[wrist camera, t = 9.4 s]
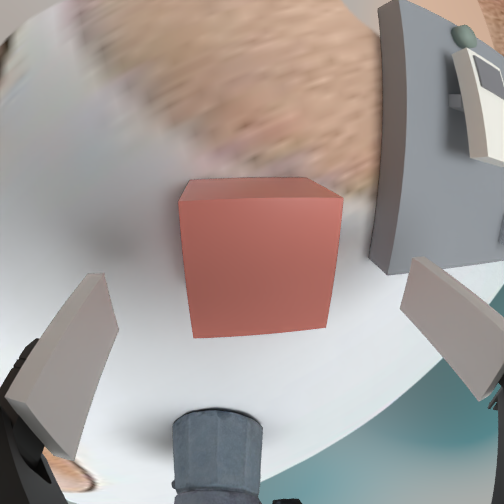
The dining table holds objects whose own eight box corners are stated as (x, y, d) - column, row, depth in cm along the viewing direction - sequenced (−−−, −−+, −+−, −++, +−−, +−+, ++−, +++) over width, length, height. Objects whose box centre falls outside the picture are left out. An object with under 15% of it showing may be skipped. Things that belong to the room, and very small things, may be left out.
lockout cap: (189, 179, 15) (178, 201, 10) (306, 177, 15) (343, 198, 11) (197, 285, 17) (193, 338, 13) (299, 279, 18) (325, 327, 14)
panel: (377, 8, 11) (408, -9, 8) (524, 88, 13) (550, 91, 10) (368, 258, 18) (396, 284, 15) (509, 247, 20) (532, 261, 17)
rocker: (451, 54, 10) (468, 46, 8) (485, 73, 10) (501, 68, 9) (469, 157, 11) (490, 156, 10) (501, 167, 12) (519, 166, 10)
